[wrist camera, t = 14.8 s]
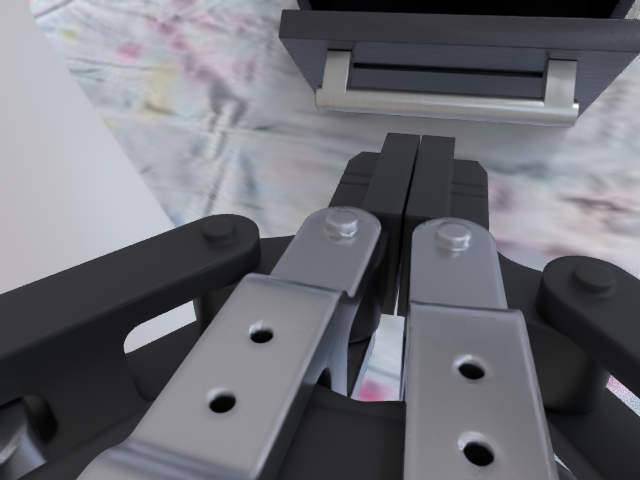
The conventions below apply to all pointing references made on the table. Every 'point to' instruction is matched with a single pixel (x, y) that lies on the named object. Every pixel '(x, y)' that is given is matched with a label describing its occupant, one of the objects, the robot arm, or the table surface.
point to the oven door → (459, 63)
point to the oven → (481, 7)
